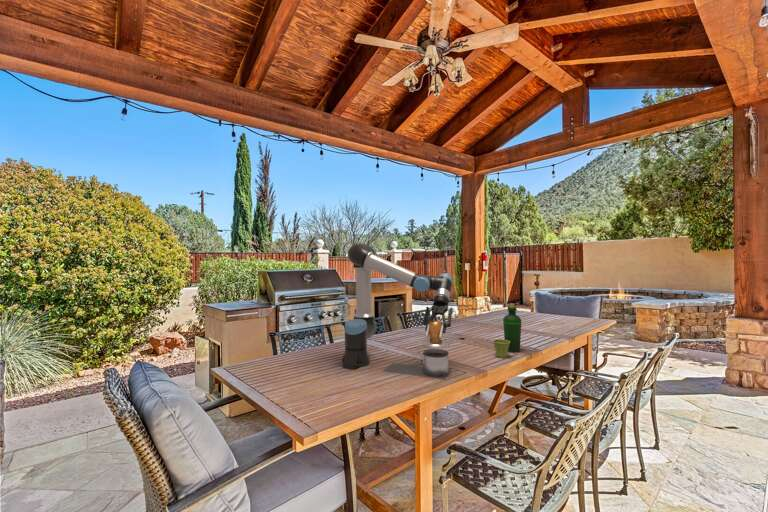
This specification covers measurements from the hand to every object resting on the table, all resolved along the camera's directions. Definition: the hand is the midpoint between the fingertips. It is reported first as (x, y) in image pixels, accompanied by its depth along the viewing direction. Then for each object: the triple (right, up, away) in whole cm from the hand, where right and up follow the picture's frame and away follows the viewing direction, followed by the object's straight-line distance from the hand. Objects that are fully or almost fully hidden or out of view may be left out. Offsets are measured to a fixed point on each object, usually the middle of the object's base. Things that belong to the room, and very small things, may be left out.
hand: (433, 337), depth 165 cm
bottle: (+54, -19, +46) cm, 73 cm away
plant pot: (+44, -19, +34) cm, 58 cm away
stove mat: (-7, -19, +7) cm, 21 cm away
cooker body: (+1, -18, +3) cm, 18 cm away
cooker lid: (+1, -4, +3) cm, 6 cm away
